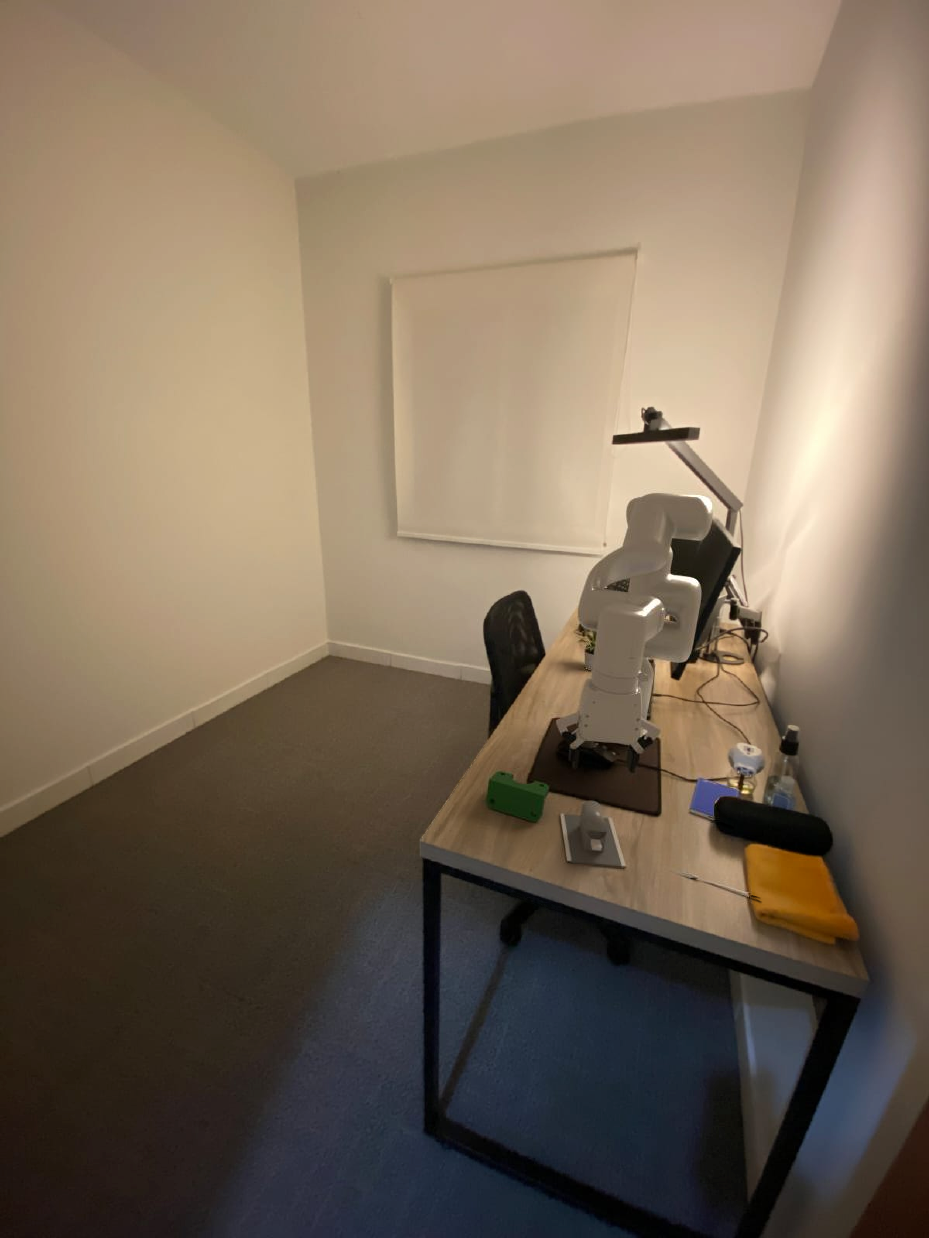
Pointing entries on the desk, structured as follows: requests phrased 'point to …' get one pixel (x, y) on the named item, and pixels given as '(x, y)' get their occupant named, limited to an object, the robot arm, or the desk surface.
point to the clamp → (516, 796)
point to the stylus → (711, 883)
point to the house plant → (589, 649)
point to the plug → (592, 827)
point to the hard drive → (709, 797)
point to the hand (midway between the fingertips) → (602, 765)
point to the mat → (580, 856)
